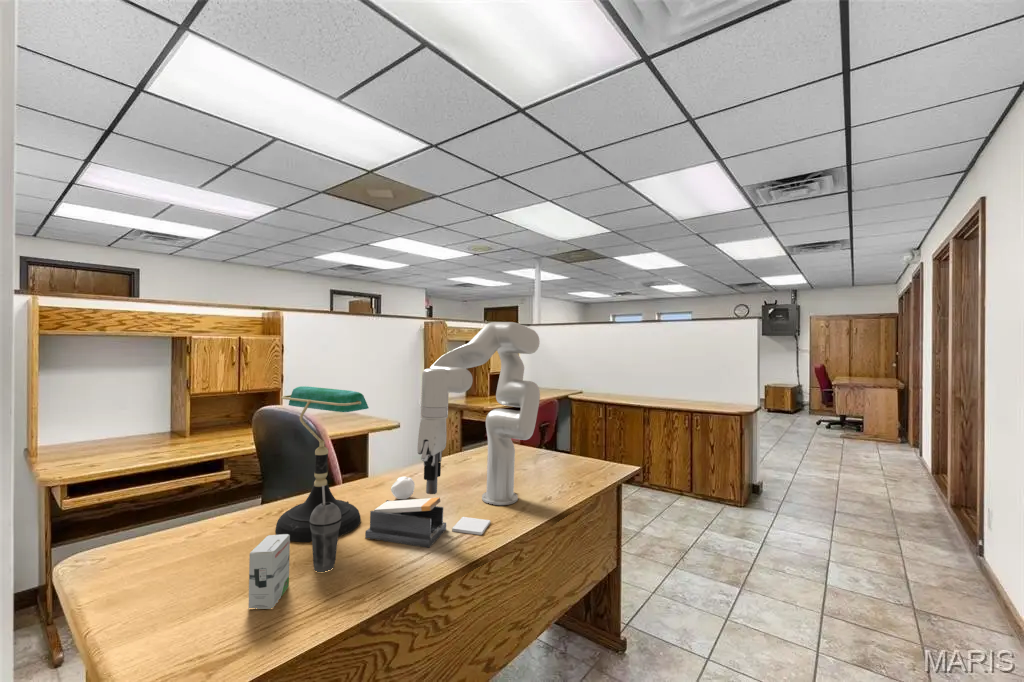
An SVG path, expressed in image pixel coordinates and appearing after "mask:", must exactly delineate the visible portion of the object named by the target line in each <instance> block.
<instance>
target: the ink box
mask: <svg viewBox="0 0 1024 682" xmlns="http://www.w3.org/2000/svg"><path fill="white" fill-rule="evenodd" d="M290 544H291V541H290V535H288V534H281V535H277V534H269V535H266V537H264V539H263V540H262V541H261V542H259V543H258V545H256V546H255V547H254V548H253V550H251V551H250V552H249V559H248V560H249V562H248V563H249V568H248V569H249V574H248V578H249V579H248V609H249V608H255V609H256V608H257V609H271V608H273V607H274V606H276V605H277V604H278V602H279V601H280V600H279V599H281V598H282V597H283V596H284V594H285V592H286V591H287V590H288V589H289V586H290V547H291V546H290ZM281 596H282V597H281ZM278 600H279V601H278ZM276 603H277V604H276ZM275 604H276V605H275ZM274 608H275V607H274ZM274 608H273V609H274Z"/></svg>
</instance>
